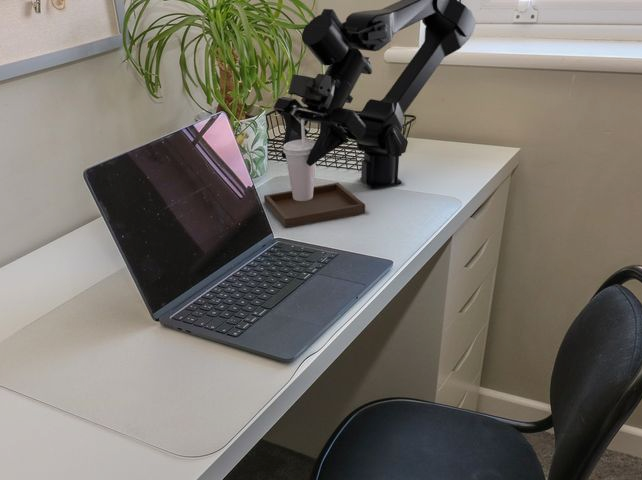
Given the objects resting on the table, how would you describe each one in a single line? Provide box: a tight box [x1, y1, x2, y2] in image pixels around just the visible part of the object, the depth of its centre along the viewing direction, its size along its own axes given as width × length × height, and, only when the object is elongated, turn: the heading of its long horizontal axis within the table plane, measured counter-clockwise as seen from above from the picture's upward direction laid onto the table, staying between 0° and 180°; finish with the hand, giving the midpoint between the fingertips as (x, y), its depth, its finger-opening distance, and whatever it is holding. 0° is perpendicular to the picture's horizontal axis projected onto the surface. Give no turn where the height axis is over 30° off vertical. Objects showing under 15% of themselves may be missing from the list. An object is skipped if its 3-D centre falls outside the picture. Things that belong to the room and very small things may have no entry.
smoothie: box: [282, 119, 317, 201], centre depth 125 cm, size 6×6×14 cm
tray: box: [263, 182, 366, 229], centre depth 132 cm, size 16×14×2 cm
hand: (295, 161), depth 124 cm, fingers closed on smoothie, 6 cm apart
